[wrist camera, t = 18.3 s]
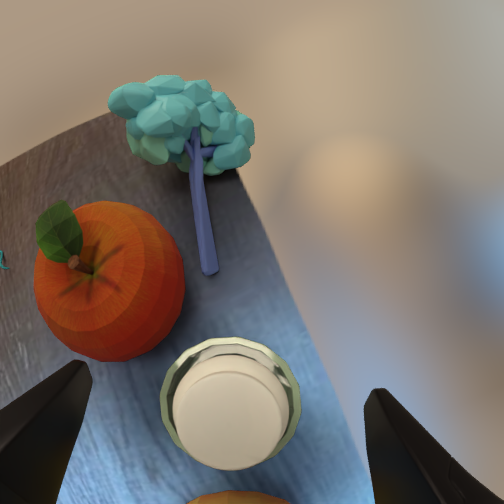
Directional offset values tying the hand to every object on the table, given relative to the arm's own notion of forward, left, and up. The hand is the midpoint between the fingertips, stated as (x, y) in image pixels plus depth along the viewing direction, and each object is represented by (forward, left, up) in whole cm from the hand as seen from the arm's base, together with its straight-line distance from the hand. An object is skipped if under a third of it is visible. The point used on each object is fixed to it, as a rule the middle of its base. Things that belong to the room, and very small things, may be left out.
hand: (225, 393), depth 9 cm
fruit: (+8, +4, -12) cm, 15 cm away
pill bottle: (-1, +1, -12) cm, 12 cm away
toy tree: (+9, 0, -14) cm, 16 cm away
